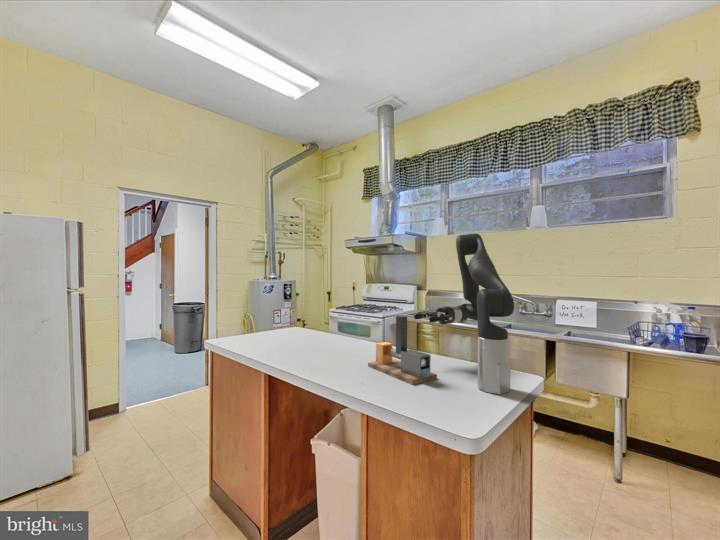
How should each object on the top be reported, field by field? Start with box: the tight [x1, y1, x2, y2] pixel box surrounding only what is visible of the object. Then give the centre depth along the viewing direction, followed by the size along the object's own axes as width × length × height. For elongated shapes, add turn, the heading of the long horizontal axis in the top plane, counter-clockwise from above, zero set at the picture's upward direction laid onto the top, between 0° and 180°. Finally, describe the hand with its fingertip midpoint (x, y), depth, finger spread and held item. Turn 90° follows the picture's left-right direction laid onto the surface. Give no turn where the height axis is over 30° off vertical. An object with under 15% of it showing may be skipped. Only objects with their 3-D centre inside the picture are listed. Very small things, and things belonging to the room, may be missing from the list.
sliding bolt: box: [389, 315, 427, 367], centre depth 121 cm, size 18×3×16 cm, turn 35°
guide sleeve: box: [400, 348, 431, 379], centre depth 118 cm, size 10×5×8 cm, turn 35°
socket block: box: [375, 341, 393, 364], centre depth 133 cm, size 4×5×8 cm
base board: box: [367, 358, 438, 386], centre depth 124 cm, size 26×12×2 cm, turn 35°
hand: (422, 318), depth 131 cm, fingers open, 8 cm apart
